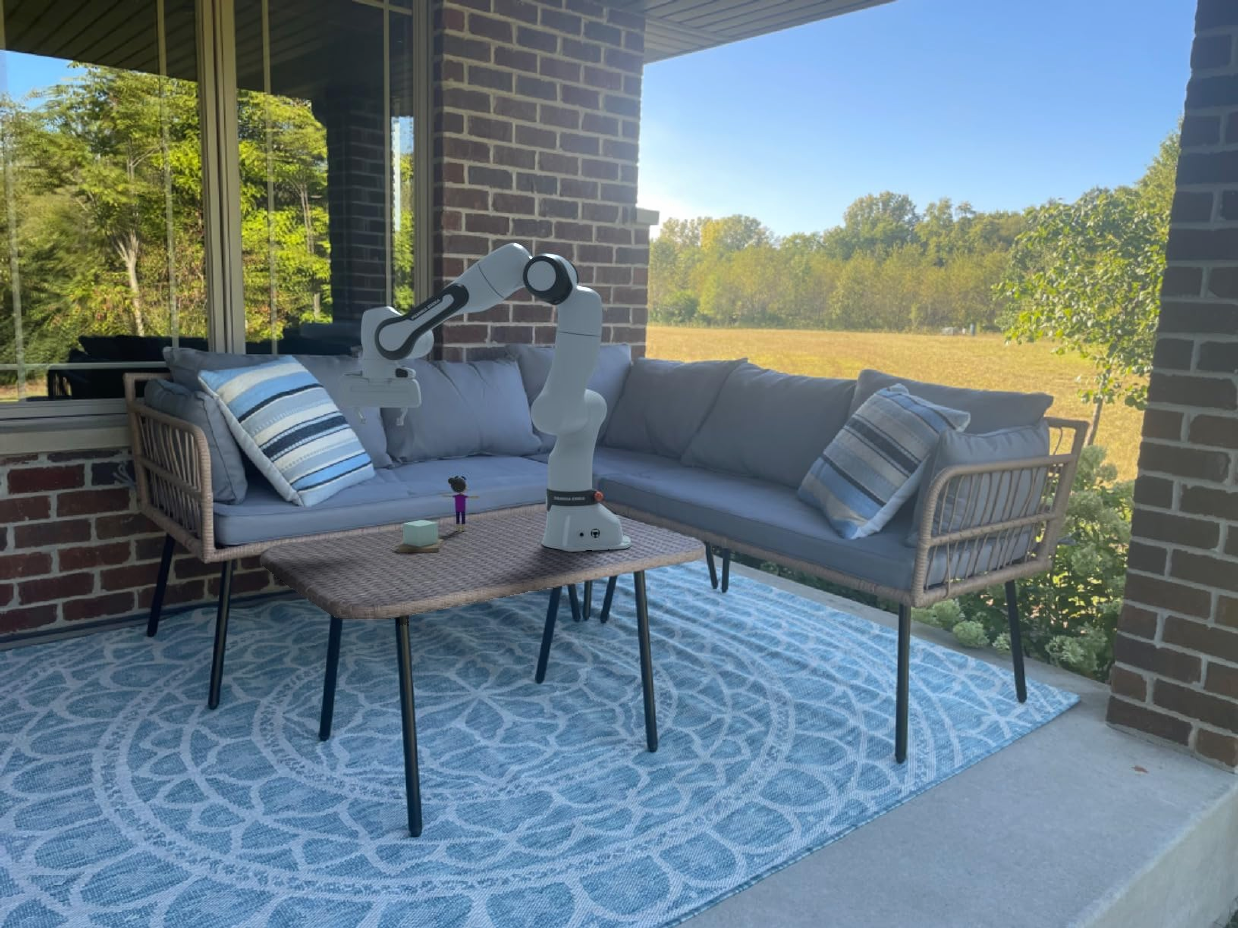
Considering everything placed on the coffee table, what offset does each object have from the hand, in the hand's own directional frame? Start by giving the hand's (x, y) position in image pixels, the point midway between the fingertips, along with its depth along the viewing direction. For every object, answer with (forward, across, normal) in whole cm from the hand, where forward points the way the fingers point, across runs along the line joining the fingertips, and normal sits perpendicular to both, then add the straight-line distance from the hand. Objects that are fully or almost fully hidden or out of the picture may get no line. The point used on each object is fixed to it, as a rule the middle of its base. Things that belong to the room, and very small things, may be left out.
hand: (381, 425), depth 230 cm
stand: (+29, +11, -14) cm, 34 cm away
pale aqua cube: (+28, +11, -13) cm, 33 cm away
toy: (+29, +19, +5) cm, 35 cm away
